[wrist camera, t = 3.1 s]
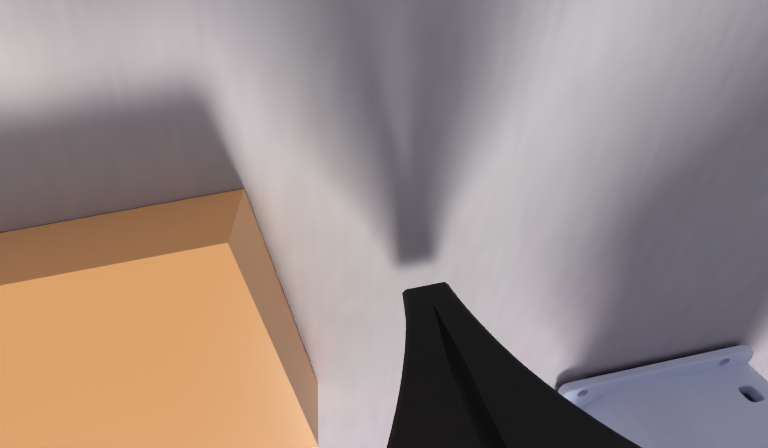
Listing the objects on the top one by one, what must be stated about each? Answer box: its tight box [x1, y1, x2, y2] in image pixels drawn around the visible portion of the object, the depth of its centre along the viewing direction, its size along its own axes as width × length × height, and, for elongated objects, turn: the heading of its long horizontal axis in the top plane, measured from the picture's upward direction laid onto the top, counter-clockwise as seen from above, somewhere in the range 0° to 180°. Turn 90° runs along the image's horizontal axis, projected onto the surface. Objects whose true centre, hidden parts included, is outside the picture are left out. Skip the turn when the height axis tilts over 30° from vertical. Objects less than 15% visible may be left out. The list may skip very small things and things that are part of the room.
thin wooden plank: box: [0, 189, 318, 448], centre depth 12 cm, size 13×9×2 cm
